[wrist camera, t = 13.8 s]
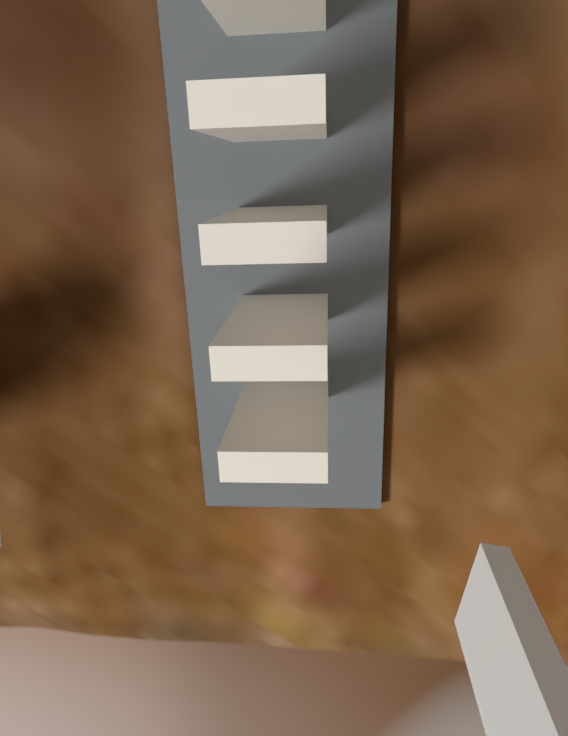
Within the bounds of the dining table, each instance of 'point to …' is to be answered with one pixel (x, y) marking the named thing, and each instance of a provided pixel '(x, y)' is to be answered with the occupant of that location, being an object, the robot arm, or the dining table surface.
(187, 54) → the mat
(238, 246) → the domino
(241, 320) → the domino
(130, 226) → the dining table surface
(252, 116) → the domino
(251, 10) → the domino
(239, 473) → the domino
